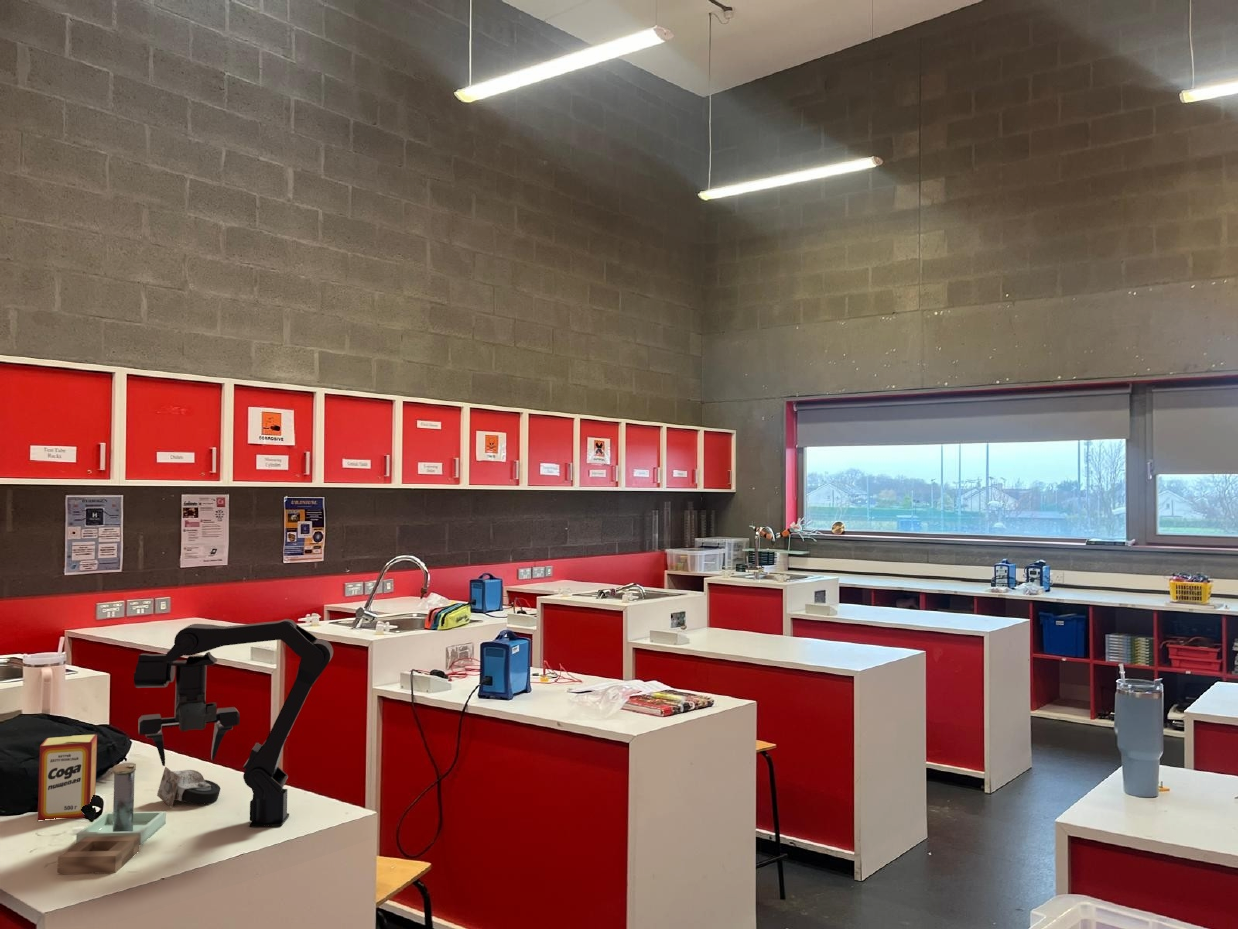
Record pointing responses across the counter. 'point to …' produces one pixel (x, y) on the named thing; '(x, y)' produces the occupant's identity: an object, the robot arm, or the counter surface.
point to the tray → (142, 826)
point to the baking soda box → (66, 776)
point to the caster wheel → (187, 788)
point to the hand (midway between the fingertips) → (188, 762)
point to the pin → (123, 797)
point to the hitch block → (98, 854)
